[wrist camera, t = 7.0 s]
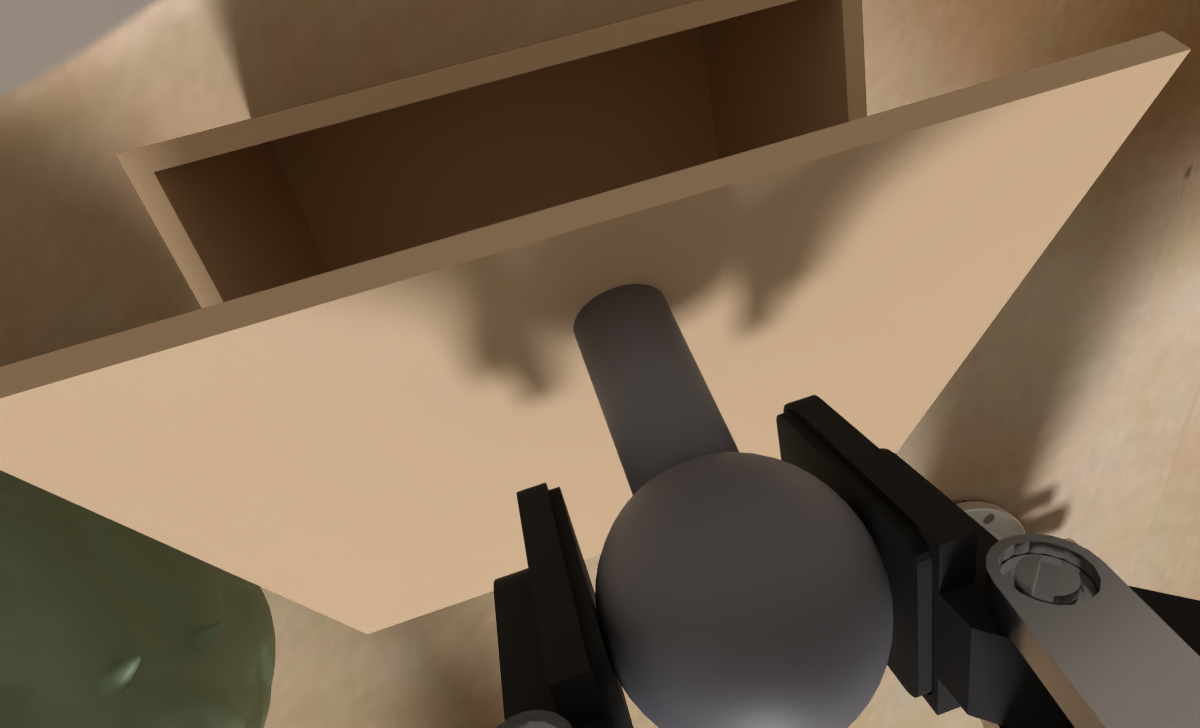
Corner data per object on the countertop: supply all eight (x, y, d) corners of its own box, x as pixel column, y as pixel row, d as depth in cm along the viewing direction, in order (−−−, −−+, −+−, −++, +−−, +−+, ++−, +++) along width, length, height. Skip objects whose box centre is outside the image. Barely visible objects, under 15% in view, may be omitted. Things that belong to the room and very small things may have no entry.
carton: (703, 5, 28) (860, -42, 17) (749, 328, 35) (880, 435, 24) (252, 125, 26) (115, 154, 16) (396, 439, 33) (370, 609, 23)
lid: (1163, 31, 11) (1738, 405, 7) (888, 438, 24) (1022, 648, 20) (-85, 391, 9) (-373, 1225, 5) (365, 616, 22) (392, 888, 18)
